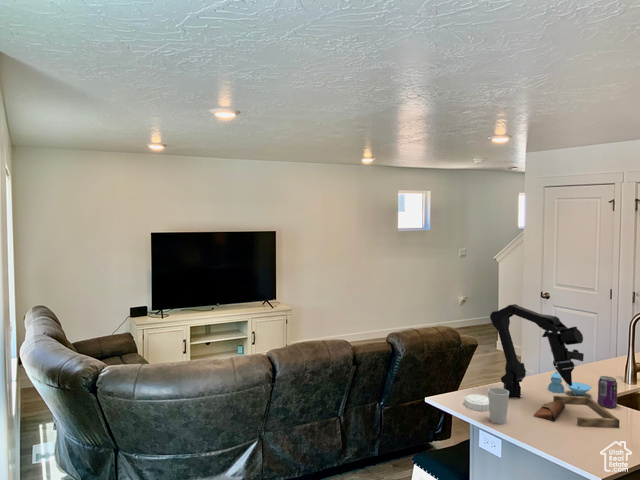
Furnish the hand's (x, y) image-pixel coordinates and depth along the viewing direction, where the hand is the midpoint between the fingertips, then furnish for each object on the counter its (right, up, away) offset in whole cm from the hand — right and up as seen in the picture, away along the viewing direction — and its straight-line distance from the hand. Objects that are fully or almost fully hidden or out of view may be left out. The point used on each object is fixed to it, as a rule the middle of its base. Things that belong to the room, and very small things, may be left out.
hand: (569, 384), depth 195 cm
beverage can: (+22, -13, +11) cm, 28 cm away
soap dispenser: (+14, -12, +26) cm, 32 cm away
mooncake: (-34, -13, +10) cm, 38 cm away
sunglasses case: (-7, -13, +3) cm, 15 cm away
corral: (+6, -13, +2) cm, 14 cm away
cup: (-31, -13, -5) cm, 34 cm away
